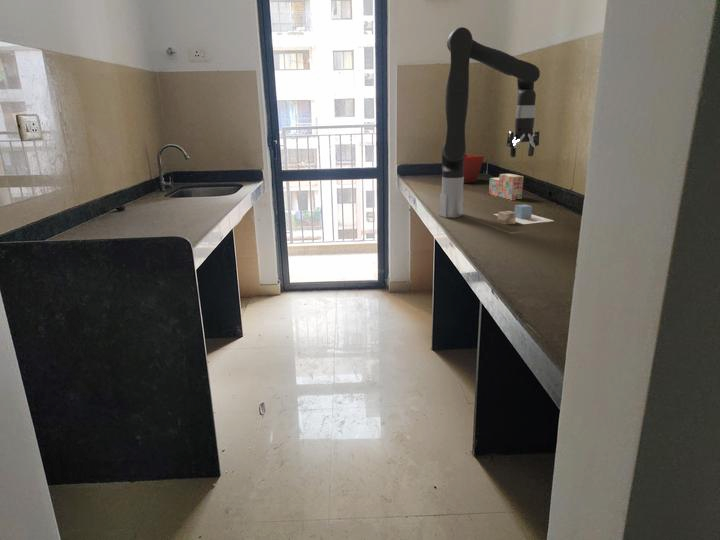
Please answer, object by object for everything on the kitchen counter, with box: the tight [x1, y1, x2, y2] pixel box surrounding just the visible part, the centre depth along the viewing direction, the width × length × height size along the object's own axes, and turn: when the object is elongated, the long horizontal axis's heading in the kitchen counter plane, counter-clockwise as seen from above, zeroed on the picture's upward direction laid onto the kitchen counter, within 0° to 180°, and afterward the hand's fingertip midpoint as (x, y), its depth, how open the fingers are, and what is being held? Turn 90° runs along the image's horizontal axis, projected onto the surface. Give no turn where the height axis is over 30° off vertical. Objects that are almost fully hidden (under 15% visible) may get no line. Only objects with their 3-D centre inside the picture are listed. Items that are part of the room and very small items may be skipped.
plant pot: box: [463, 153, 485, 184], centre depth 317 cm, size 19×19×17 cm
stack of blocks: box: [488, 173, 525, 201], centre depth 257 cm, size 21×6×12 cm, turn 19°
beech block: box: [496, 210, 516, 225], centre depth 197 cm, size 5×5×5 cm
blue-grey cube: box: [513, 203, 533, 219], centre depth 205 cm, size 5×5×5 cm
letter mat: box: [492, 213, 554, 225], centre depth 206 cm, size 15×22×1 cm
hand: (521, 156), depth 208 cm, fingers open, 8 cm apart
